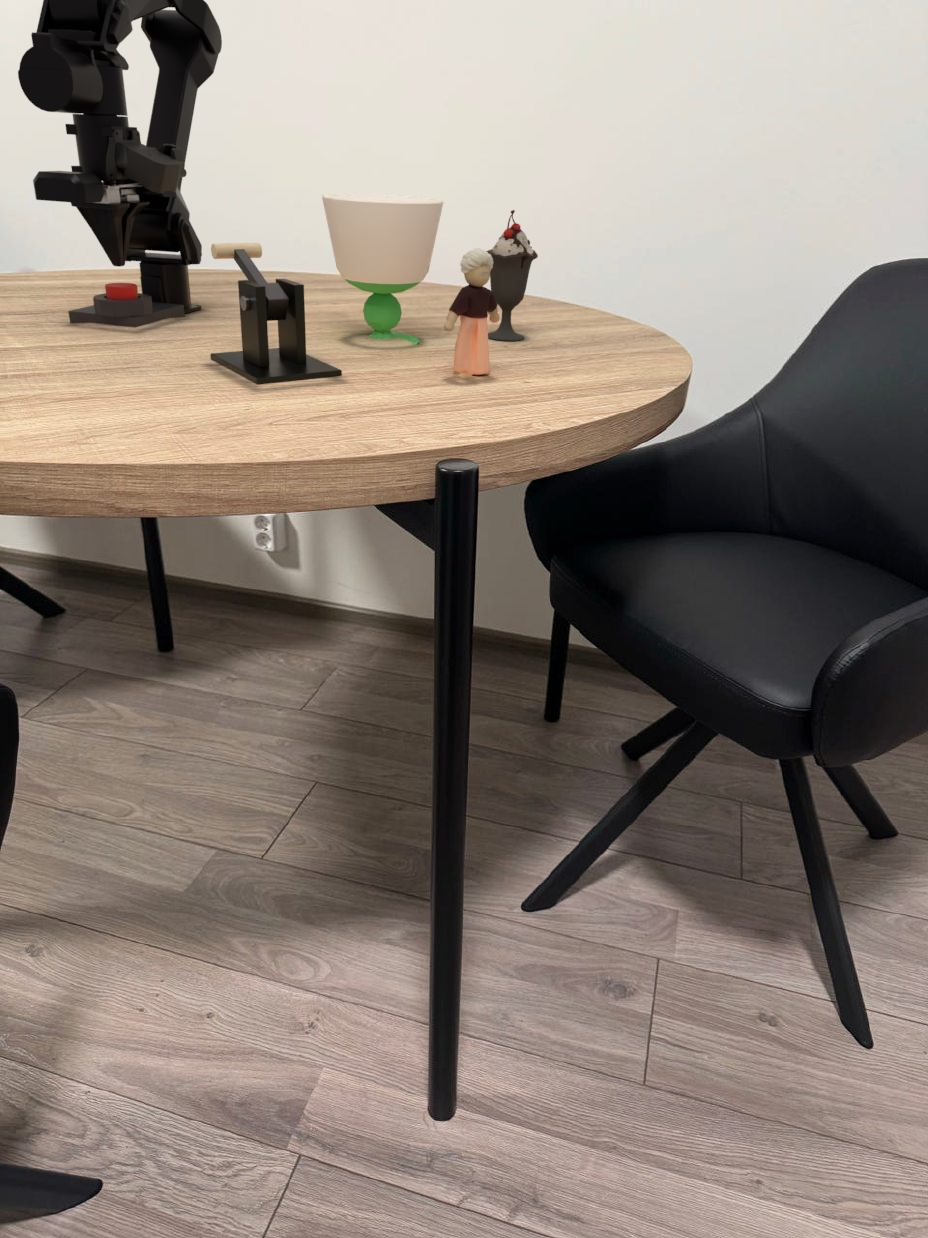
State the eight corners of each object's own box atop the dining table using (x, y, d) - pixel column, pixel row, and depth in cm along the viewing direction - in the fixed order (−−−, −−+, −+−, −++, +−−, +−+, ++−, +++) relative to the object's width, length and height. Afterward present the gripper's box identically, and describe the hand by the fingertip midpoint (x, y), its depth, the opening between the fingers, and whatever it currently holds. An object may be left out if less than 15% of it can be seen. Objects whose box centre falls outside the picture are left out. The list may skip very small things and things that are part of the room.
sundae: (495, 343, 112) (503, 210, 105) (470, 333, 117) (476, 205, 110) (541, 341, 115) (552, 211, 108) (514, 331, 120) (523, 206, 113)
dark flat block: (123, 312, 119) (120, 283, 118) (186, 318, 117) (184, 289, 116) (66, 326, 109) (61, 295, 107) (134, 333, 107) (130, 302, 105)
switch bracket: (211, 364, 95) (203, 275, 91) (290, 357, 100) (286, 272, 95) (257, 391, 86) (251, 293, 82) (342, 381, 91) (340, 289, 87)
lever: (209, 257, 94) (211, 236, 92) (255, 256, 96) (258, 235, 94) (251, 322, 89) (254, 300, 87) (298, 319, 91) (302, 297, 89)
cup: (301, 337, 110) (296, 193, 102) (385, 326, 119) (386, 192, 111) (378, 358, 102) (379, 202, 94) (462, 344, 111) (468, 201, 103)
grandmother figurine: (468, 388, 91) (475, 252, 85) (436, 381, 93) (440, 248, 87) (506, 375, 97) (514, 247, 91) (475, 369, 99) (482, 243, 93)
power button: (118, 296, 111) (116, 281, 110) (144, 299, 110) (142, 284, 109) (100, 300, 108) (98, 285, 107) (127, 303, 107) (125, 287, 106)
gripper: (114, 115, 90) (133, 281, 98) (209, 120, 106) (219, 263, 114) (18, 110, 93) (44, 272, 100) (125, 116, 109) (140, 256, 116)
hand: (118, 265), depth 107 cm, fingers closed
